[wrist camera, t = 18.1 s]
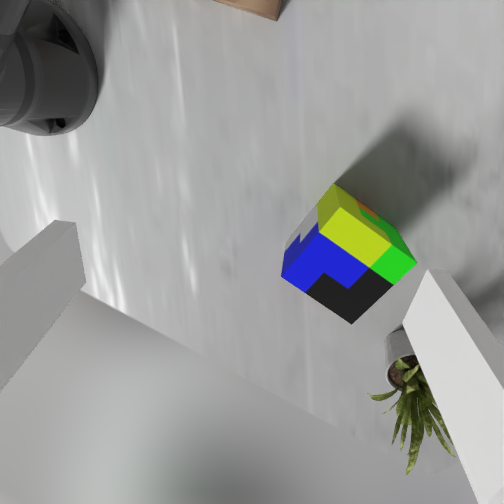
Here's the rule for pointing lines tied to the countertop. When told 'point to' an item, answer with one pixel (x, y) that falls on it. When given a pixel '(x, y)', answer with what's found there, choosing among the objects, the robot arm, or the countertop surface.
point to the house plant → (410, 395)
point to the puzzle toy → (345, 255)
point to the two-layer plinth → (257, 7)
